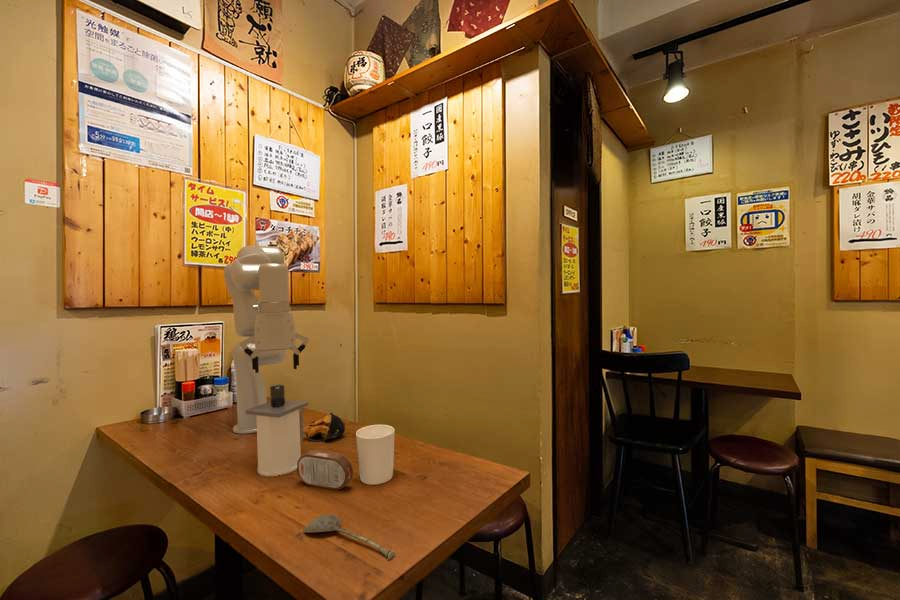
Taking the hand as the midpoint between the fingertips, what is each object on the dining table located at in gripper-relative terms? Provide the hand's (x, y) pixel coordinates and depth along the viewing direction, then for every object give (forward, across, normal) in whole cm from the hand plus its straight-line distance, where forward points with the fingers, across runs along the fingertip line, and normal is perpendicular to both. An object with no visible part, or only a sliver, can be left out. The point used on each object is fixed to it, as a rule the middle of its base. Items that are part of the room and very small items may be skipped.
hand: (276, 370), depth 107 cm
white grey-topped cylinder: (+27, +1, 0) cm, 27 cm away
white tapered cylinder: (+27, +23, -19) cm, 40 cm away
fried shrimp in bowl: (+27, +12, +16) cm, 34 cm away
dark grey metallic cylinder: (+21, 0, -1) cm, 21 cm away
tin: (+27, +10, -18) cm, 34 cm away
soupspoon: (+27, +12, -42) cm, 51 cm away
